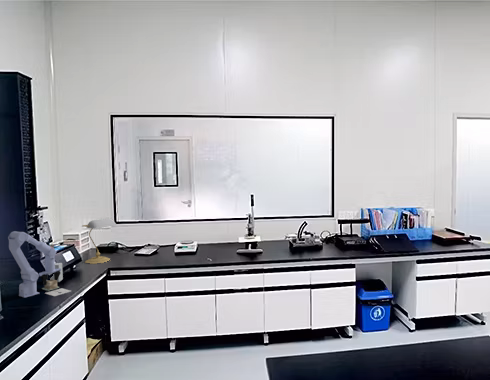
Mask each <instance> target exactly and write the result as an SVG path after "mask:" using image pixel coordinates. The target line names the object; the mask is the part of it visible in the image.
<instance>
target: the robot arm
mask: <svg viewBox="0 0 490 380" xmlns="http://www.w3.org/2000/svg"><path fill="white" fill-rule="evenodd" d="M7 239H8V249H9V251H10V252H11V255H12V256H13V258H14V260H15V262H16V264H17V265H18V268H20V274H21V279H22V281H23V282H22V283H20V284H19V287H18V289H19V290H18V296H19V297H22V298H28V297H33V296H35V295H40V292H38V291H37V281H38V279H39V277H40V279H41V280H42V284H43V286H45V285H46V281H47V280H48V274H50V273H54V280H57V281H58V277H59V275H60V273H61V272H60V271H61V268H58V269H55V263H56V262H55V261H56V259H55V257H56V255H57V250H56V248H54V247H51V245H48V244H47V243H46V242H45V241H38V240H37V239H35V238H34V237H33V236H31V235H30V234H28V233H26V232H24V231H16V230H14V231H11V232H10V233H9V234H8V236H7ZM25 242H28V243H29V244H31V245H33V246H35V249H36V250H38V251H39V252H41V253H42V254H43V255H44V257H45V258H44V259H45V260H44V261H45V266H44V267H45V271H42V272H39V273H38V272H37V271H36V270H35V269H34V268H32V267H31V265H30V263H29V262H28V259H27V258H26V256H25V255H24V252H23V251H22V249H21V246H22V245H23V244H24V243H25Z"/></svg>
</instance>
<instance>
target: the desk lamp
mask: <svg viewBox="0 0 490 380" xmlns="http://www.w3.org/2000/svg"><path fill="white" fill-rule="evenodd" d="M116 225H117V223H116V222H115V221H114V220H113V219H112V218H109V217H106V218H101V219H94V220H90V221H89V222H88V223H87V224H84V225H83V224H82V227H84V228H85V227H86V229H90V230H89V231H88V236H89V239H90V240H91V242H92V244H93V247H94V248H95V249H96V252H95V256H93V257H91V258H89V259H87V260H86V259H85V261H84V263H85V264H86V263H90V264H89V265H98V264H97V263H101V264H105V263H104V262H106V263H108V262H107V261H109V260H110V259H111V258H109V257H106V256H101V253H100V252H99V249H98V247H97V246H96V243H95V242H94V240H93V239H92V236H91V232H92V230H93V229H102V228H106V227H112V226H116ZM110 261H111V260H110ZM110 261H109V262H110Z"/></svg>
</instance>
